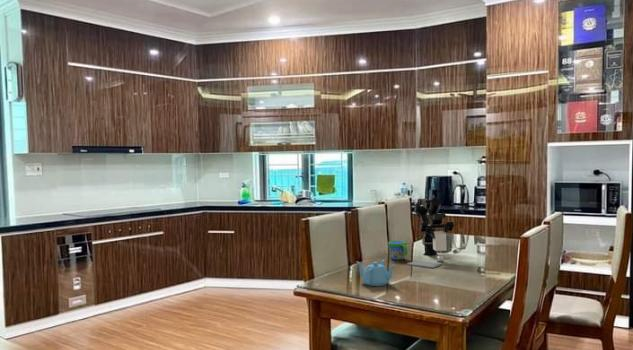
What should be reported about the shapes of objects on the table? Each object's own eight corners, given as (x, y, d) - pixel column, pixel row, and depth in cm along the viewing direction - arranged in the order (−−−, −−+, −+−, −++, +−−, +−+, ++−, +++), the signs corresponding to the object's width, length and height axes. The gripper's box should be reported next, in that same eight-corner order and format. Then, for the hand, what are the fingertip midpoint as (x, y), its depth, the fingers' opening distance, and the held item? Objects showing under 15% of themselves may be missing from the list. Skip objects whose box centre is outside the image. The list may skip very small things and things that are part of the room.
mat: (406, 264, 255) (406, 263, 255) (416, 261, 262) (416, 260, 262) (432, 268, 244) (432, 267, 244) (442, 265, 251) (441, 263, 251)
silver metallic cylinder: (435, 262, 260) (435, 256, 260) (438, 261, 262) (438, 255, 262) (441, 262, 257) (441, 257, 257) (444, 261, 260) (444, 256, 260)
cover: (433, 248, 262) (432, 231, 262) (443, 248, 263) (442, 231, 262) (435, 250, 256) (435, 233, 256) (446, 250, 257) (446, 232, 256)
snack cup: (412, 260, 266) (412, 243, 266) (397, 262, 262) (396, 244, 262) (398, 256, 281) (397, 239, 280) (383, 258, 277) (382, 241, 276)
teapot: (365, 289, 209) (365, 266, 209) (356, 281, 224) (355, 260, 224) (396, 286, 212) (395, 264, 212) (384, 278, 227) (383, 257, 227)
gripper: (420, 208, 263) (425, 230, 252) (452, 207, 263) (459, 229, 252) (417, 220, 271) (422, 242, 260) (449, 219, 271) (455, 241, 260)
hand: (440, 238), depth 258 cm, fingers closed on cover, 6 cm apart
